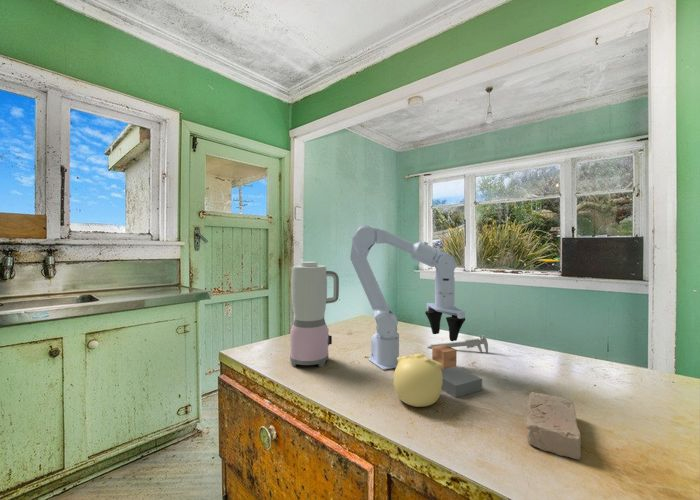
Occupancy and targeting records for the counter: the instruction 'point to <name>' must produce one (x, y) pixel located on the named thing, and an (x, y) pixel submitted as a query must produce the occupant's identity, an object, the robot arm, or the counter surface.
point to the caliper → (466, 343)
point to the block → (444, 356)
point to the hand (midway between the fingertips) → (444, 337)
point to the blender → (310, 313)
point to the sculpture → (418, 380)
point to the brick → (553, 425)
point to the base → (460, 382)
